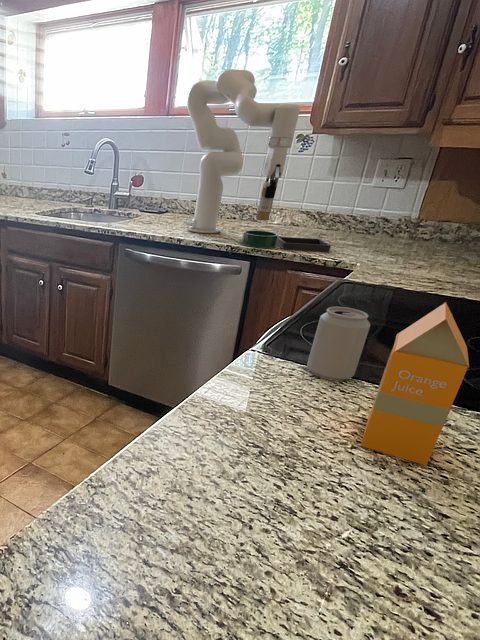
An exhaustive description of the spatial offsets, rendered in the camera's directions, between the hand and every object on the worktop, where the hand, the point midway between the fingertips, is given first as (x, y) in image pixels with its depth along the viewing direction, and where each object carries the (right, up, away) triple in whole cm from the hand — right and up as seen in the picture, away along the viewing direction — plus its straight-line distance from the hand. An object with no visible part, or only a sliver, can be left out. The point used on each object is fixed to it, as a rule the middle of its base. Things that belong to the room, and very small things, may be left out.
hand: (267, 196), depth 192 cm
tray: (+15, -18, +4) cm, 23 cm away
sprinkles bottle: (0, -8, +4) cm, 9 cm away
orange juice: (-42, -72, -117) cm, 144 cm away
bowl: (0, -16, +7) cm, 18 cm away
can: (-38, -63, -96) cm, 121 cm away
